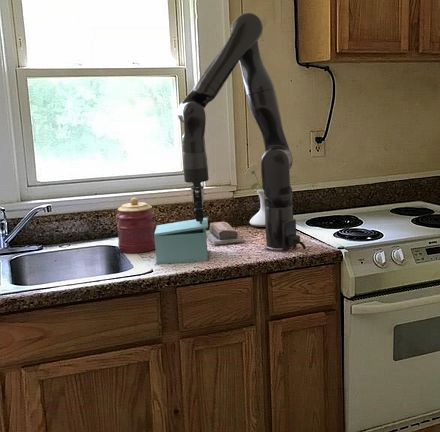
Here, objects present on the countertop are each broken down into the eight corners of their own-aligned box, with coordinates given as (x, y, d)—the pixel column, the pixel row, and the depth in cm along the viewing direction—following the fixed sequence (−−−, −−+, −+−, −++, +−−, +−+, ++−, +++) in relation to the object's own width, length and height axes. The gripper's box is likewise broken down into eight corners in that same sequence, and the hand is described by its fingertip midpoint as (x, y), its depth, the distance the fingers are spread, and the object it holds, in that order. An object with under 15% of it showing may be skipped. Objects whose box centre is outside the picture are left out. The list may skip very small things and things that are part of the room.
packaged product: (203, 222, 233) (230, 219, 236) (204, 235, 234) (231, 232, 237) (213, 232, 216) (242, 229, 219) (214, 246, 217) (242, 242, 220)
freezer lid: (207, 219, 209) (205, 203, 208) (207, 227, 197) (205, 210, 196) (157, 227, 207) (154, 211, 206) (154, 236, 195) (151, 219, 194)
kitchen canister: (146, 242, 226) (142, 193, 223) (164, 248, 217) (160, 196, 213) (112, 249, 218) (107, 198, 215) (130, 255, 208) (125, 202, 205)
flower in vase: (267, 221, 253) (264, 158, 249) (285, 225, 245) (282, 160, 240) (240, 226, 246) (236, 162, 241) (257, 231, 237) (253, 164, 232)
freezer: (207, 250, 211) (205, 224, 209) (207, 260, 199) (205, 233, 197) (159, 253, 209) (157, 227, 207) (156, 264, 197) (154, 236, 195)
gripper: (207, 168, 192) (211, 223, 196) (207, 162, 206) (211, 214, 210) (182, 169, 192) (187, 225, 195) (184, 164, 206) (188, 216, 209)
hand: (199, 219), depth 202 cm, fingers closed on freezer lid, 5 cm apart
